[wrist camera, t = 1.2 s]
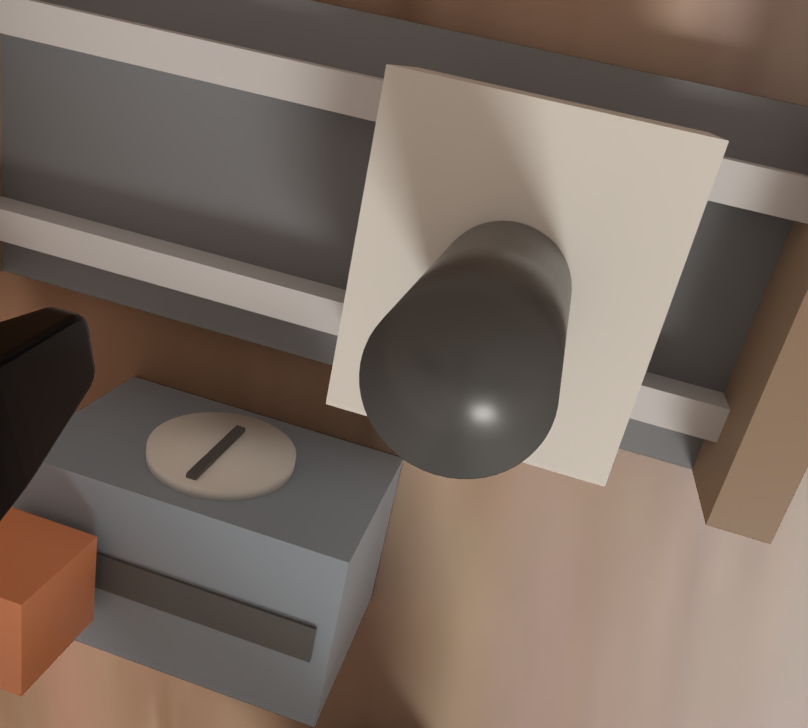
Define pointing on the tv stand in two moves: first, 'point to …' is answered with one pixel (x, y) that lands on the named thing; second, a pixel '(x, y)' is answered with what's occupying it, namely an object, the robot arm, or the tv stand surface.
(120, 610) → the box
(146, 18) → the rail board
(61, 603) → the block
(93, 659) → the tv stand surface
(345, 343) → the carriage
